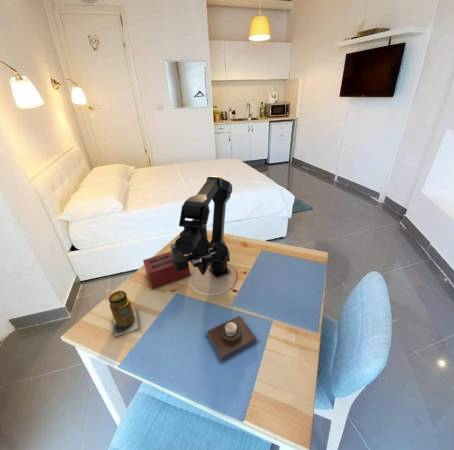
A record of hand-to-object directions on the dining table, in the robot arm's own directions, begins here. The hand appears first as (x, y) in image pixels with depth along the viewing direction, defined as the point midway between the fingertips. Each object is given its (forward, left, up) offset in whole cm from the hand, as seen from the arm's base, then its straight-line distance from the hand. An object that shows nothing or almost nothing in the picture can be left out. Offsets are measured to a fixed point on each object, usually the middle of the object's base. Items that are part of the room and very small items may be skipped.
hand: (202, 274), depth 88 cm
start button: (0, +20, -8) cm, 22 cm away
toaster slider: (+3, -23, -4) cm, 24 cm away
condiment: (+28, -4, -12) cm, 31 cm away
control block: (0, +20, -12) cm, 23 cm away
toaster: (+8, -21, -12) cm, 25 cm away
